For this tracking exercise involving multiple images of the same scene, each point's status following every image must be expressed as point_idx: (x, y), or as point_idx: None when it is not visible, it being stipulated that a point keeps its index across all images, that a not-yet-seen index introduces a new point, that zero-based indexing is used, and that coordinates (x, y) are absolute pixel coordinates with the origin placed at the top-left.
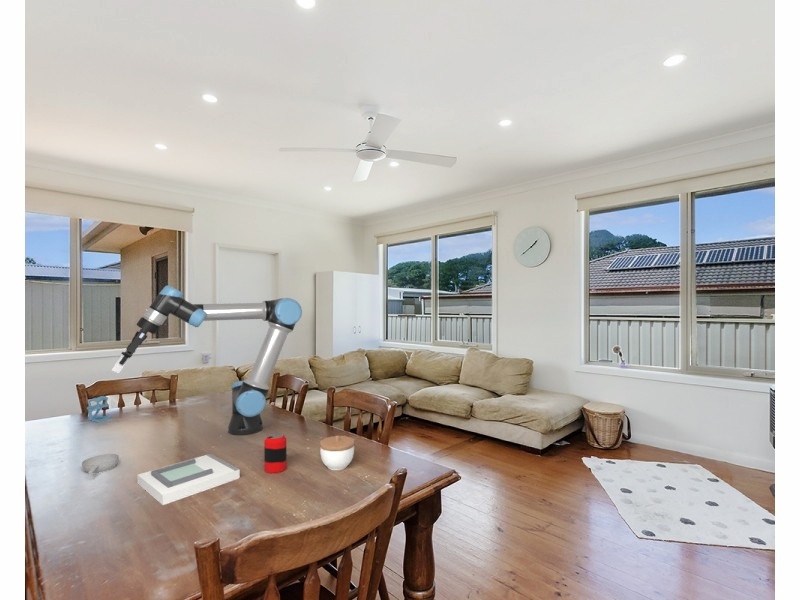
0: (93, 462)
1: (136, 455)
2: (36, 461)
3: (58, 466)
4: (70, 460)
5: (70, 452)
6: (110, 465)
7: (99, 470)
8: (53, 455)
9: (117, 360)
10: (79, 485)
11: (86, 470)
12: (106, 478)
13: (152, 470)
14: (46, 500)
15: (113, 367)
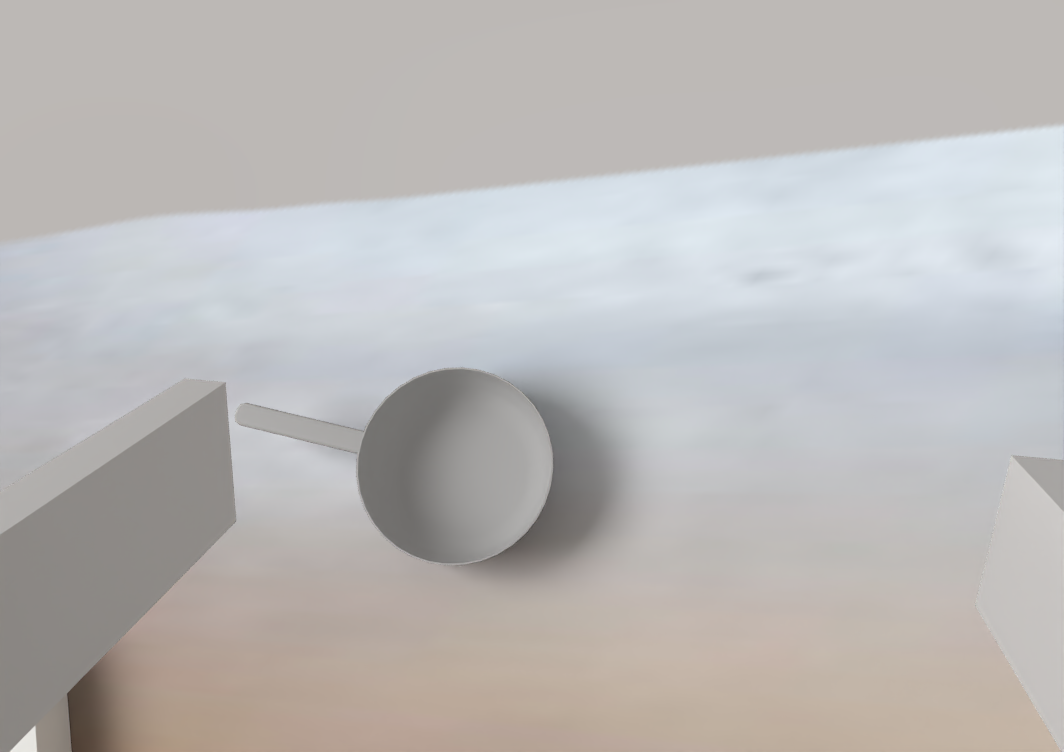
0: (539, 430)
1: (588, 680)
2: (844, 154)
3: (664, 265)
4: (743, 315)
5: (927, 305)
6: (378, 517)
7: (375, 462)
8: (917, 222)
9: (1054, 503)
10: (261, 378)
11: (409, 398)
12: (269, 498)
13: (32, 733)
14: (167, 260)
15: (151, 406)
